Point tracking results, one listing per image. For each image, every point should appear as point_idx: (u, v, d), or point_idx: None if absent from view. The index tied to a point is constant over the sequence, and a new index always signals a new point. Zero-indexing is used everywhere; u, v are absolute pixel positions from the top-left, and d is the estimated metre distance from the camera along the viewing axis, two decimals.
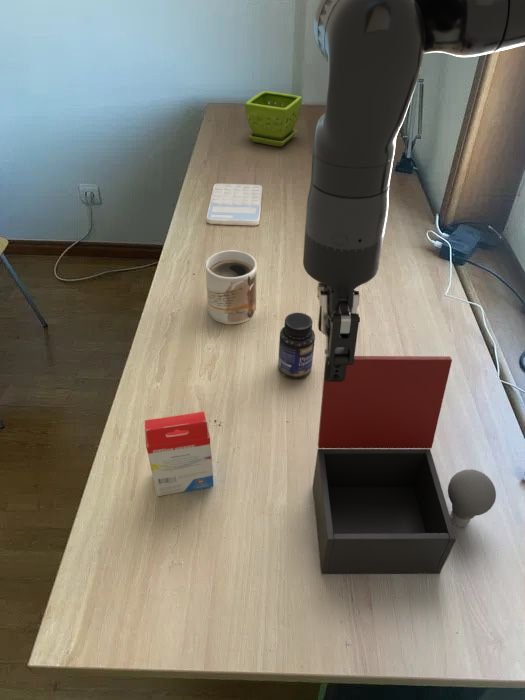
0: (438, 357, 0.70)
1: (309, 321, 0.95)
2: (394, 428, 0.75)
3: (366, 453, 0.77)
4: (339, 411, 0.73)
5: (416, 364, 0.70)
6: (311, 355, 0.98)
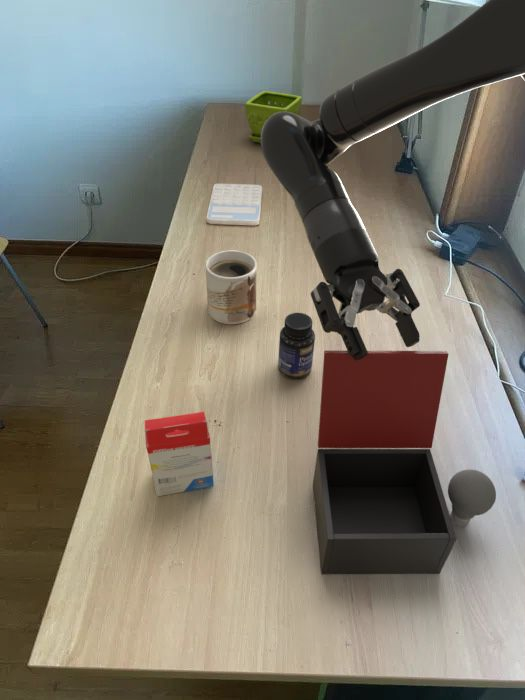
0: (434, 351, 0.71)
1: (309, 321, 0.95)
2: (393, 426, 0.75)
3: (366, 453, 0.77)
4: (338, 408, 0.74)
5: (413, 358, 0.71)
6: (311, 355, 0.98)
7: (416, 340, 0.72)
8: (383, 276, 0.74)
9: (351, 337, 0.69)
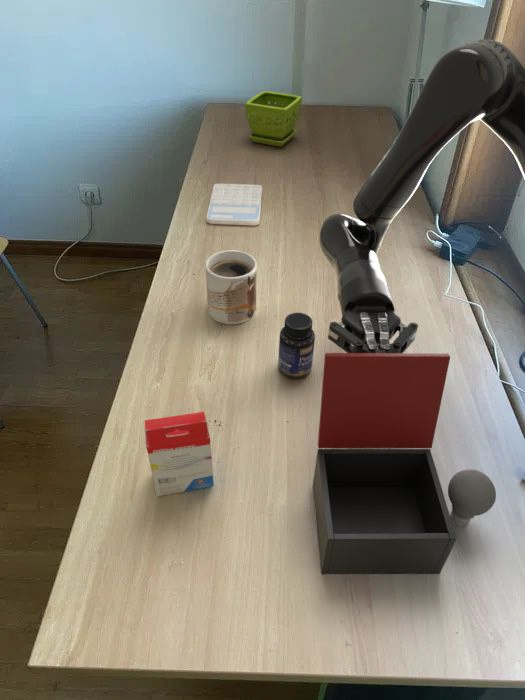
0: (436, 354, 0.70)
1: (309, 321, 0.95)
2: (394, 427, 0.75)
3: (366, 453, 0.77)
4: (339, 409, 0.74)
5: (415, 361, 0.70)
6: (311, 355, 0.98)
7: None
8: (395, 316, 0.80)
9: None
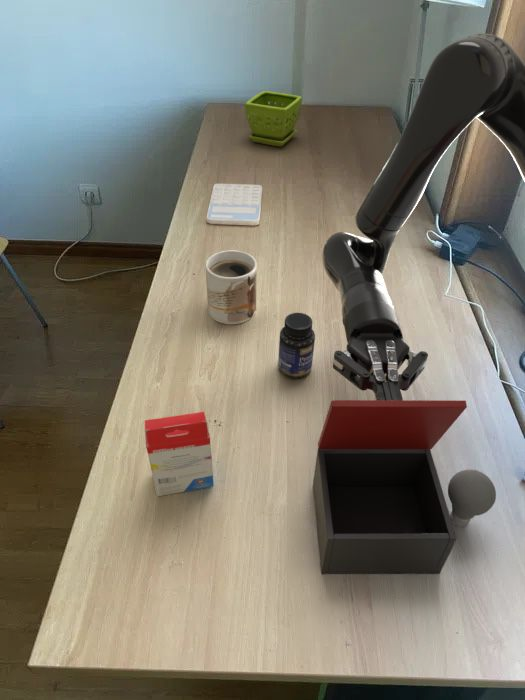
0: (452, 402, 0.65)
1: (309, 321, 0.95)
2: (396, 440, 0.74)
3: (366, 453, 0.77)
4: (341, 432, 0.71)
5: (428, 409, 0.65)
6: (311, 355, 0.98)
7: None
8: (404, 344, 0.75)
9: (380, 390, 0.69)
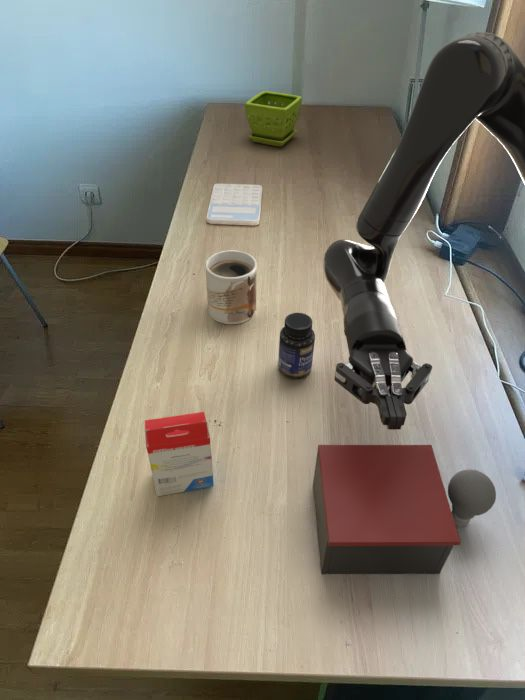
0: (446, 543, 0.67)
1: (309, 321, 0.95)
2: None
3: None
4: None
5: None
6: (311, 355, 0.98)
7: (398, 418, 0.66)
8: (407, 356, 0.73)
9: (383, 404, 0.68)
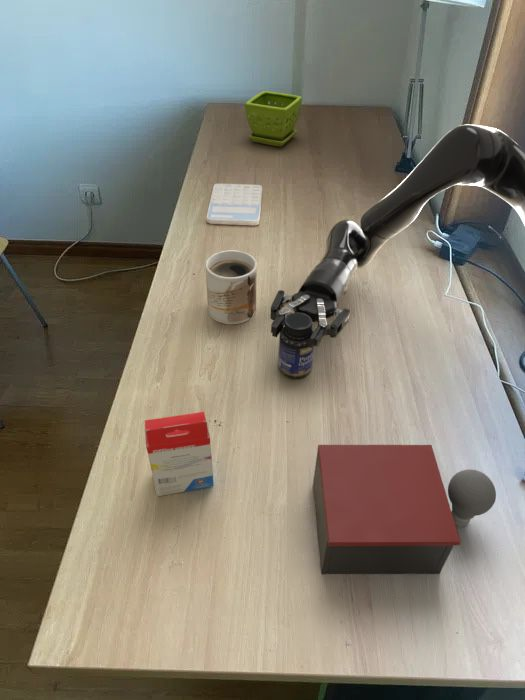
0: (446, 543, 0.67)
1: (309, 321, 0.95)
2: None
3: None
4: None
5: None
6: (311, 355, 0.98)
7: (311, 338, 0.93)
8: (332, 305, 1.00)
9: (276, 319, 0.97)
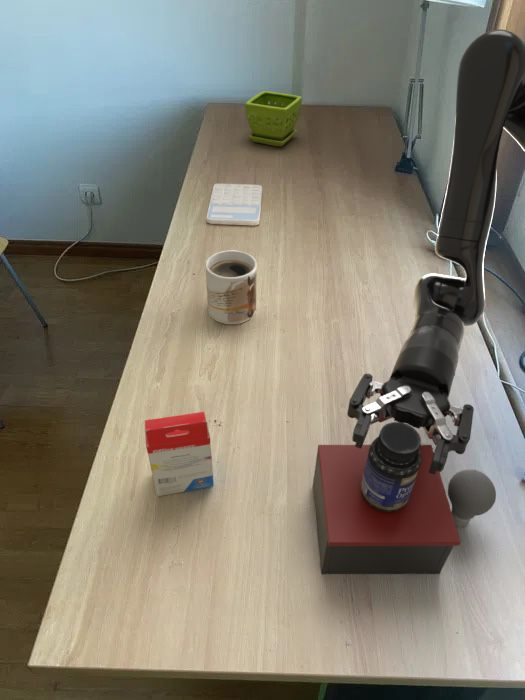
0: (446, 543, 0.67)
1: (416, 438, 0.64)
2: None
3: None
4: None
5: None
6: (414, 482, 0.67)
7: (434, 462, 0.61)
8: (444, 401, 0.68)
9: (360, 421, 0.66)
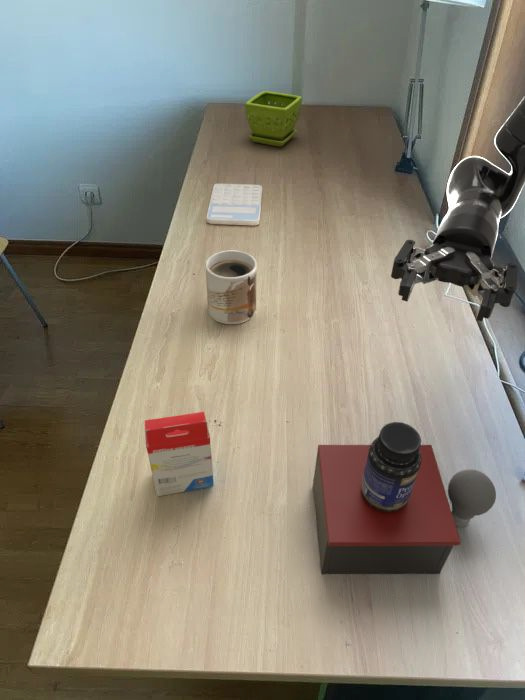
0: (446, 543, 0.67)
1: (416, 438, 0.64)
2: None
3: None
4: None
5: None
6: (414, 482, 0.67)
7: (482, 306, 0.62)
8: (488, 261, 0.69)
9: (406, 276, 0.67)
